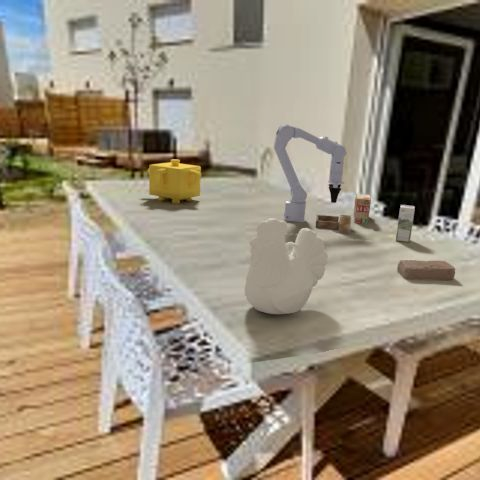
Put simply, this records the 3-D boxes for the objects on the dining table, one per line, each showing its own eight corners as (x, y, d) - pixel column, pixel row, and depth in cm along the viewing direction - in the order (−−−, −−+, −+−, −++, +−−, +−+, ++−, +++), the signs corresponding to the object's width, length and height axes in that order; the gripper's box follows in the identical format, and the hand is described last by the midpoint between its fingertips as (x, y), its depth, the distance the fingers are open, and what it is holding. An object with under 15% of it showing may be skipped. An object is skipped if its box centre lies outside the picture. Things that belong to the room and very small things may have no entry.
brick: (404, 280, 164) (406, 266, 163) (395, 271, 172) (397, 258, 171) (454, 282, 165) (457, 268, 164) (443, 273, 173) (446, 260, 172)
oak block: (338, 231, 217) (340, 217, 215) (338, 229, 222) (339, 214, 220) (349, 232, 217) (351, 217, 215) (349, 230, 221) (350, 215, 219)
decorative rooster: (255, 326, 125) (261, 227, 118) (233, 301, 139) (237, 212, 132) (343, 315, 134) (354, 223, 127) (314, 293, 148) (322, 209, 141)
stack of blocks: (353, 214, 256) (355, 190, 253) (365, 215, 255) (368, 191, 252) (354, 224, 236) (357, 198, 232) (368, 225, 235) (371, 199, 231)
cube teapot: (217, 200, 274) (219, 160, 268) (182, 208, 250) (183, 165, 244) (167, 191, 292) (167, 154, 286) (130, 198, 267) (129, 157, 262)
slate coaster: (331, 234, 215) (331, 232, 215) (331, 228, 225) (331, 227, 225) (356, 236, 214) (356, 235, 214) (354, 230, 223) (354, 229, 223)
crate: (315, 228, 224) (316, 220, 223) (316, 222, 236) (316, 214, 235) (338, 230, 222) (339, 222, 221) (338, 223, 234) (338, 216, 233)
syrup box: (410, 239, 213) (415, 205, 209) (409, 243, 207) (414, 208, 204) (396, 237, 215) (400, 204, 211) (395, 241, 209) (400, 206, 205)
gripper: (345, 174, 223) (342, 204, 227) (344, 170, 237) (341, 198, 241) (329, 173, 224) (326, 203, 228) (329, 169, 238) (326, 197, 242)
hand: (333, 201), depth 234 cm, fingers open, 7 cm apart
